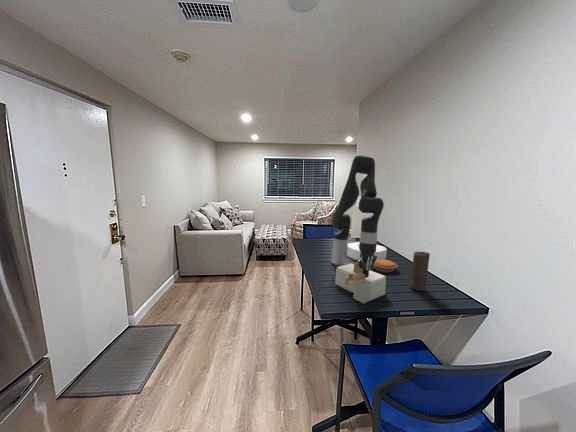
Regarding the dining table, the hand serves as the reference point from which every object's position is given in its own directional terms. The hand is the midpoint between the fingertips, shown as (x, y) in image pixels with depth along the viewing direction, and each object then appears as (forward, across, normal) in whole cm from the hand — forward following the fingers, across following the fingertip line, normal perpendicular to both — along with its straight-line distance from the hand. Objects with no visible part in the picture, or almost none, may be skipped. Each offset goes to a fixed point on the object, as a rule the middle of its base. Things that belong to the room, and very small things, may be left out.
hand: (365, 276), depth 119 cm
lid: (+3, -7, -8) cm, 11 cm away
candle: (+11, -33, +9) cm, 36 cm away
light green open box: (+11, -5, -8) cm, 15 cm away
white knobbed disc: (+12, -55, -41) cm, 70 cm away
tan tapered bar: (+1, +7, 0) cm, 7 cm away
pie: (+12, -44, -18) cm, 49 cm away
